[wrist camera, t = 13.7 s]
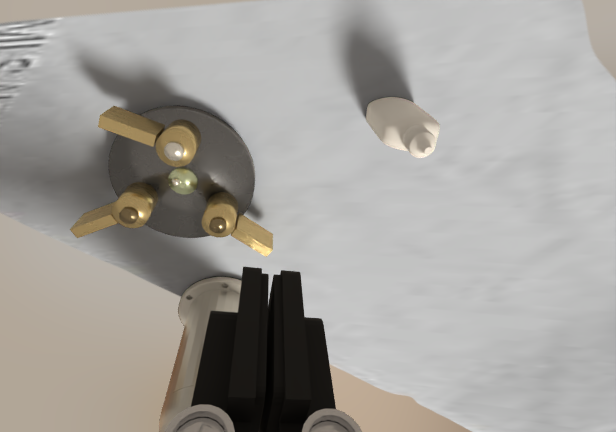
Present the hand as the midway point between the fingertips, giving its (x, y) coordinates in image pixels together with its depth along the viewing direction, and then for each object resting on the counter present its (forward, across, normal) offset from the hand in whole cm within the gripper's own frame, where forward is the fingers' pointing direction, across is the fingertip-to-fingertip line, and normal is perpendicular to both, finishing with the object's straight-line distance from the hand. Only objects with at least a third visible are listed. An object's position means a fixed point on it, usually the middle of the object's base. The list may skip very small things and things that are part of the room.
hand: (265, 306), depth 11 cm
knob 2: (+30, +15, +16) cm, 38 cm away
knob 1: (+30, +11, +6) cm, 33 cm away
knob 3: (+30, +2, +16) cm, 34 cm away
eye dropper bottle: (+32, -13, +1) cm, 35 cm away
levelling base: (+32, +8, +12) cm, 35 cm away
